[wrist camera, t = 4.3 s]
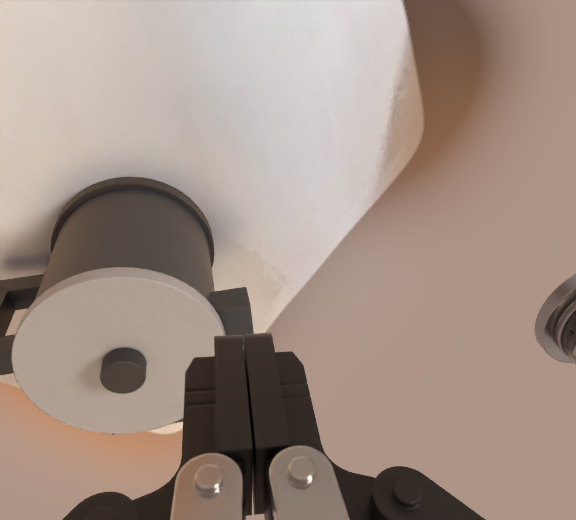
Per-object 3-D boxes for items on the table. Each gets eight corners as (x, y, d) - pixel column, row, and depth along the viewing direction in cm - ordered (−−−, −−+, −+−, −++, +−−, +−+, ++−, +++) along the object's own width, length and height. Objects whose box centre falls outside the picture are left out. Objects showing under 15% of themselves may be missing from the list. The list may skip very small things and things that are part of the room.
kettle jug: (241, 307, 45) (268, 439, 33) (35, 340, 43) (-16, 494, 31) (224, 164, 38) (249, 267, 26) (-25, 194, 36) (-120, 322, 24)
